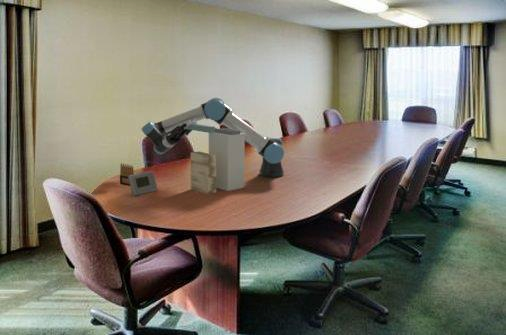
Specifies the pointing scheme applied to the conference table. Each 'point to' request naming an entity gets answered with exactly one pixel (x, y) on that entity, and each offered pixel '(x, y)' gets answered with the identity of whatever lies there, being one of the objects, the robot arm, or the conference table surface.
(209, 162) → the beige stone block
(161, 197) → the conference table surface
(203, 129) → the rail
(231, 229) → the conference table surface
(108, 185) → the conference table surface
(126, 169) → the ammunition clip
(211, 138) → the grey stand
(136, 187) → the digital clock
